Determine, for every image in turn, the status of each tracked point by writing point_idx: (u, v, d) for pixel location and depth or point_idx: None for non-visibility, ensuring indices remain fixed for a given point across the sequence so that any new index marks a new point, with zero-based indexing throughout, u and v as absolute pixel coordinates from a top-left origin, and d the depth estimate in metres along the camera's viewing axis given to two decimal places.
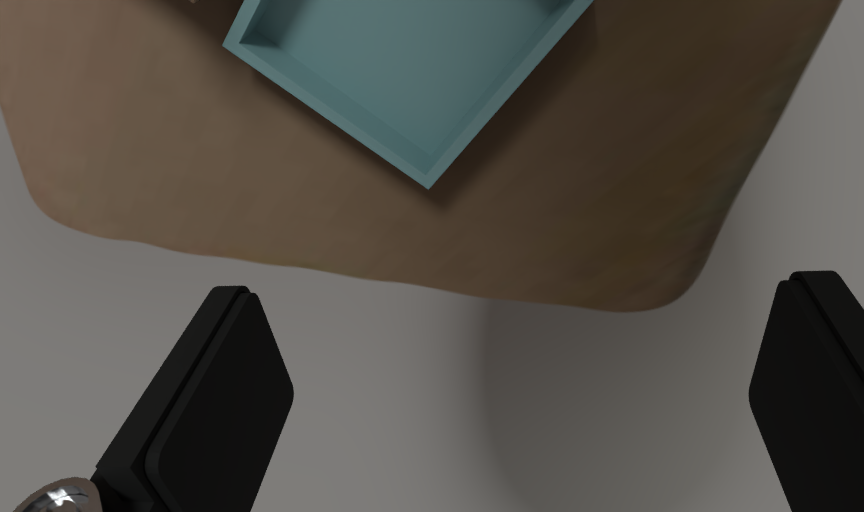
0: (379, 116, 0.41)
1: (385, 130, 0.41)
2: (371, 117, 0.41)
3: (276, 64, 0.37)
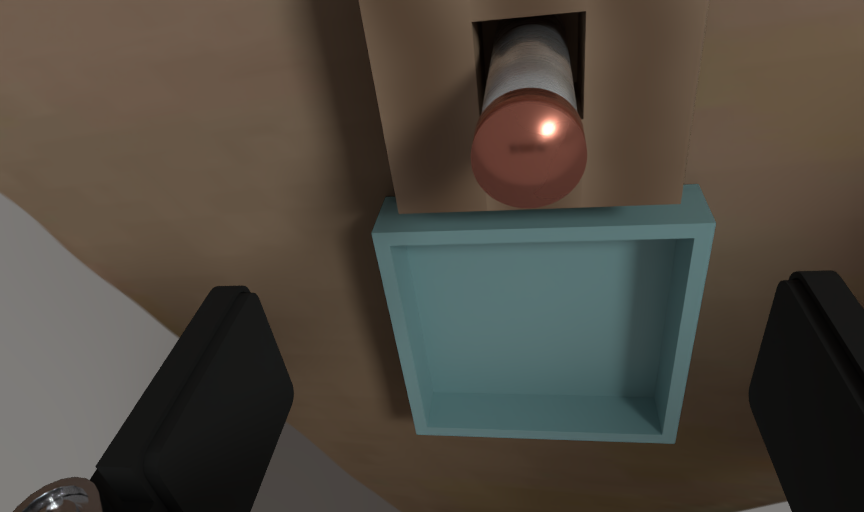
0: (426, 344, 0.37)
1: (423, 363, 0.37)
2: (422, 345, 0.37)
3: (399, 276, 0.31)
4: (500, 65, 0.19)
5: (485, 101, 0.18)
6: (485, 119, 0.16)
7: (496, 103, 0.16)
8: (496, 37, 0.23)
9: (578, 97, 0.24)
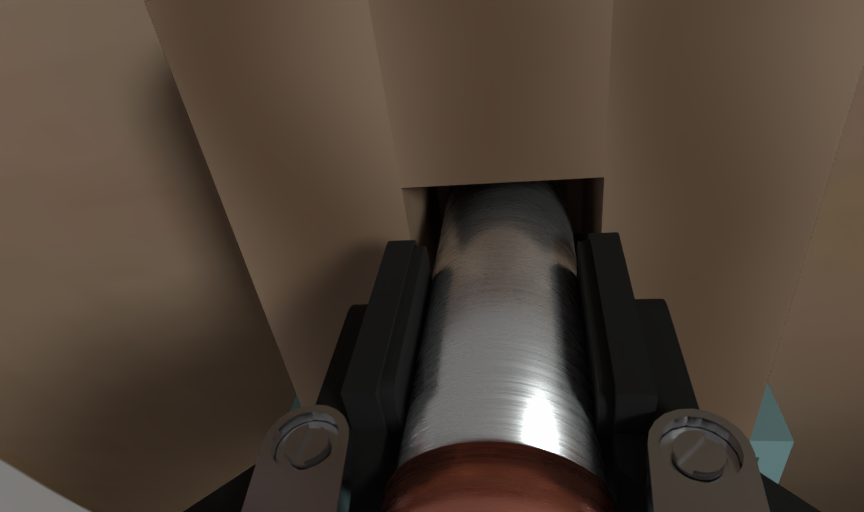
0: None
1: None
2: None
3: None
4: (447, 297, 0.10)
5: (412, 400, 0.09)
6: None
7: (421, 480, 0.07)
8: (451, 188, 0.14)
9: None
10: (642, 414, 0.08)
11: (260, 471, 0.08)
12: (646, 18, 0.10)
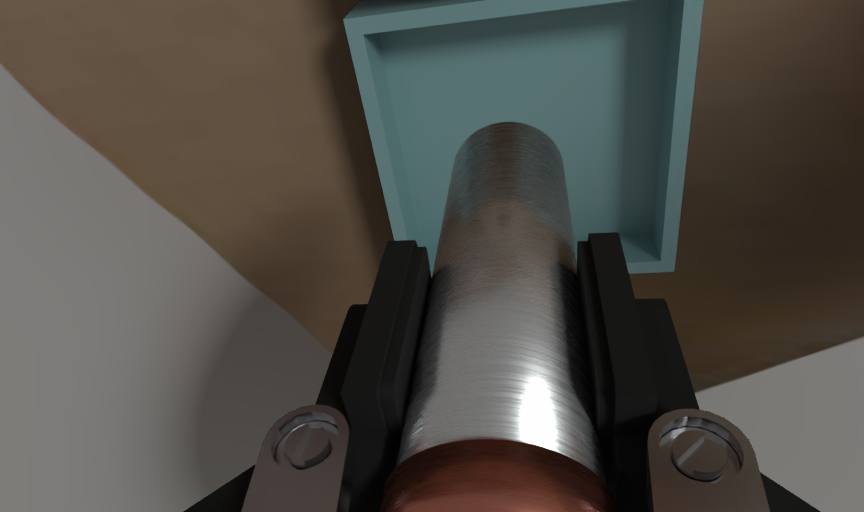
0: (411, 183, 0.36)
1: (408, 203, 0.36)
2: (406, 182, 0.35)
3: (376, 80, 0.30)
4: (447, 295, 0.10)
5: (411, 398, 0.09)
6: None
7: (420, 478, 0.07)
8: (451, 186, 0.14)
9: None
10: (642, 414, 0.08)
11: (260, 471, 0.08)
12: None
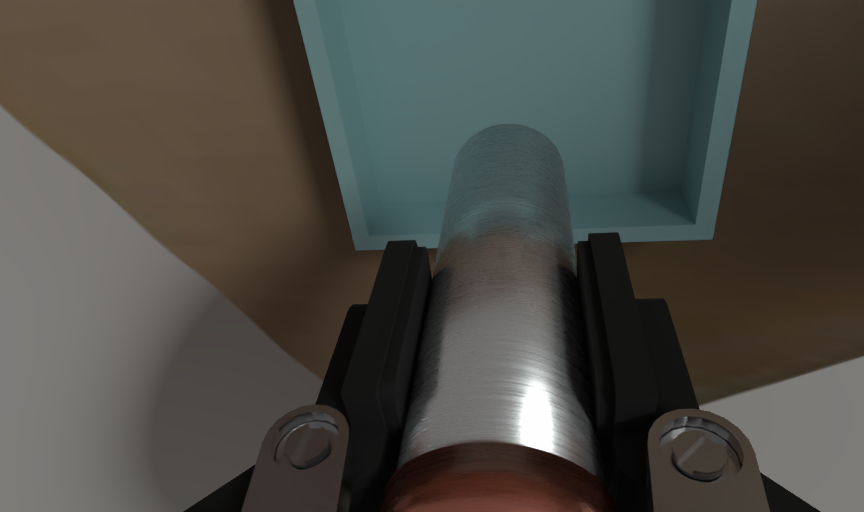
0: (366, 117, 0.27)
1: (362, 143, 0.27)
2: (358, 113, 0.26)
3: None
4: (447, 298, 0.10)
5: (412, 401, 0.09)
6: None
7: (420, 481, 0.07)
8: (451, 188, 0.14)
9: None
10: (642, 414, 0.08)
11: (260, 471, 0.08)
12: None
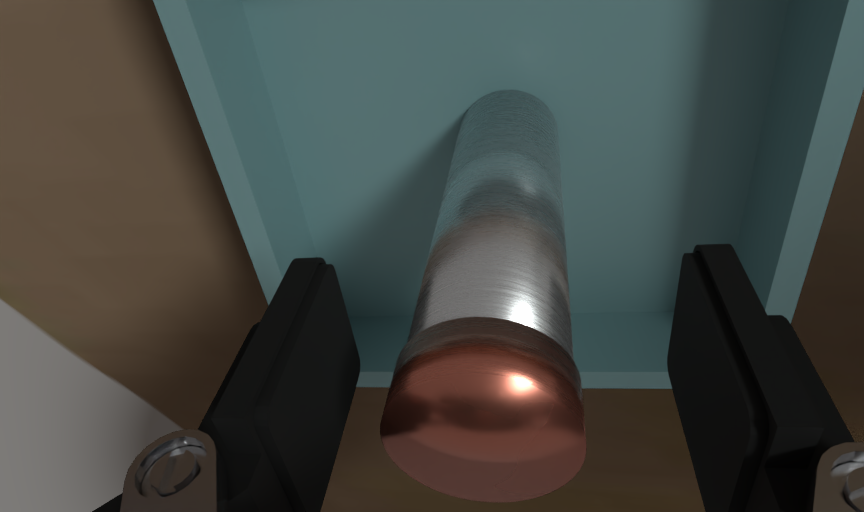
0: (310, 218, 0.21)
1: (304, 252, 0.20)
2: (298, 216, 0.20)
3: (205, 19, 0.15)
4: (449, 224, 0.12)
5: (419, 301, 0.11)
6: (403, 380, 0.09)
7: (424, 345, 0.09)
8: (456, 144, 0.16)
9: None
10: (801, 447, 0.07)
11: (127, 509, 0.07)
12: None
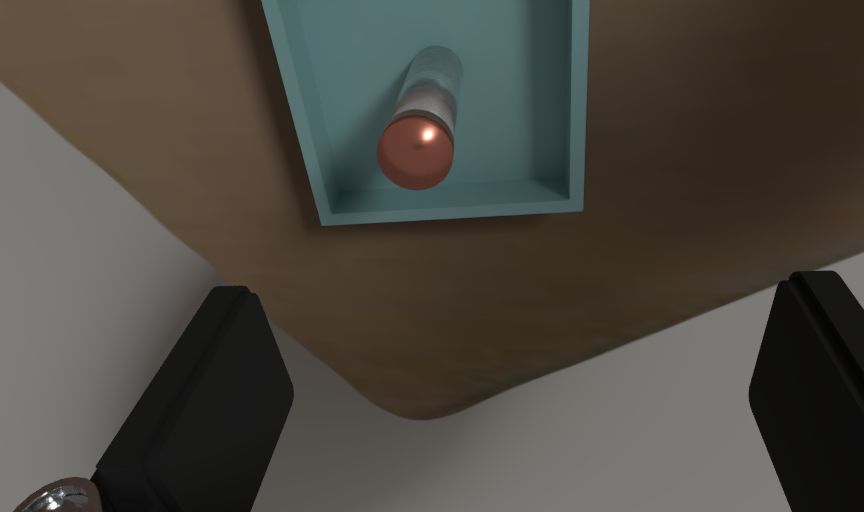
0: (328, 124, 0.36)
1: (325, 143, 0.36)
2: (322, 121, 0.35)
3: (283, 7, 0.30)
4: (403, 93, 0.28)
5: (390, 118, 0.26)
6: (385, 130, 0.24)
7: (392, 120, 0.24)
8: None
9: None
10: None
11: None
12: None
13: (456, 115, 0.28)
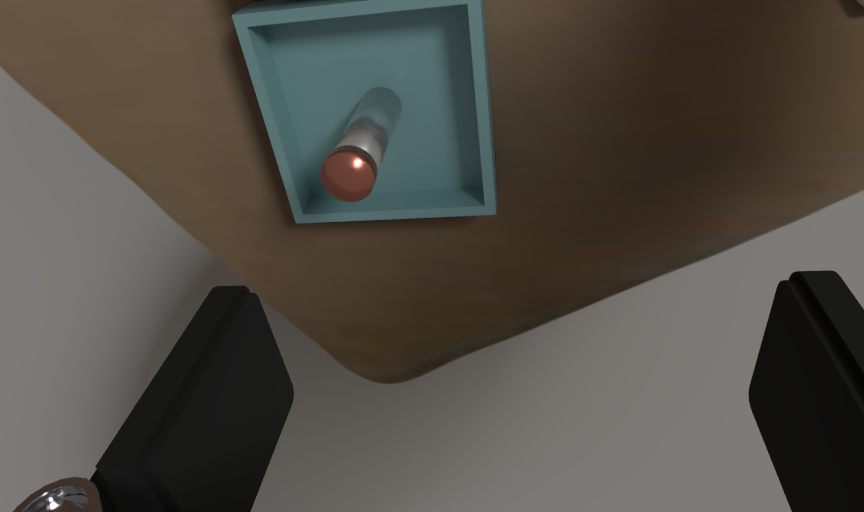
0: (300, 144, 0.46)
1: (298, 159, 0.46)
2: (295, 142, 0.45)
3: (261, 61, 0.40)
4: (345, 129, 0.38)
5: None
6: (325, 160, 0.34)
7: (331, 152, 0.35)
8: None
9: None
10: None
11: None
12: None
13: (385, 145, 0.38)
